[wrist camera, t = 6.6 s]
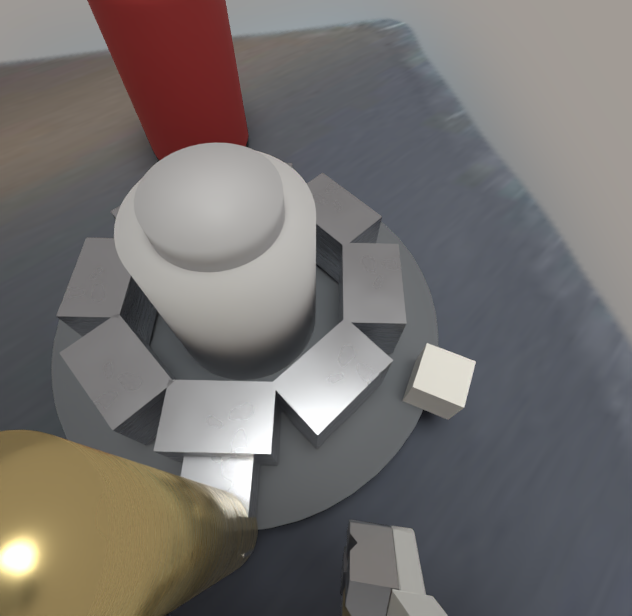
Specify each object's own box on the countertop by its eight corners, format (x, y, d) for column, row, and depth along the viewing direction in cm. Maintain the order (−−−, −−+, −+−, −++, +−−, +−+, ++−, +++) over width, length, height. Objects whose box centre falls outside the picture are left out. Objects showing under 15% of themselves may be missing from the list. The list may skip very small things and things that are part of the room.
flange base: (-3, 469, 17) (-334, 416, 8) (165, 182, 26) (88, 6, 17) (428, 592, 15) (587, 694, 6) (458, 237, 24) (544, 68, 15)
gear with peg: (140, 203, 22) (-18, -83, 11) (381, 208, 22) (442, -76, 11) (24, 570, 14) (-903, 734, 3) (410, 580, 13) (725, 779, 3)
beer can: (230, 187, 25) (170, -48, 15) (138, 169, 26) (20, -67, 16) (262, 124, 28) (232, -109, 18) (179, 109, 29) (103, -122, 19)
